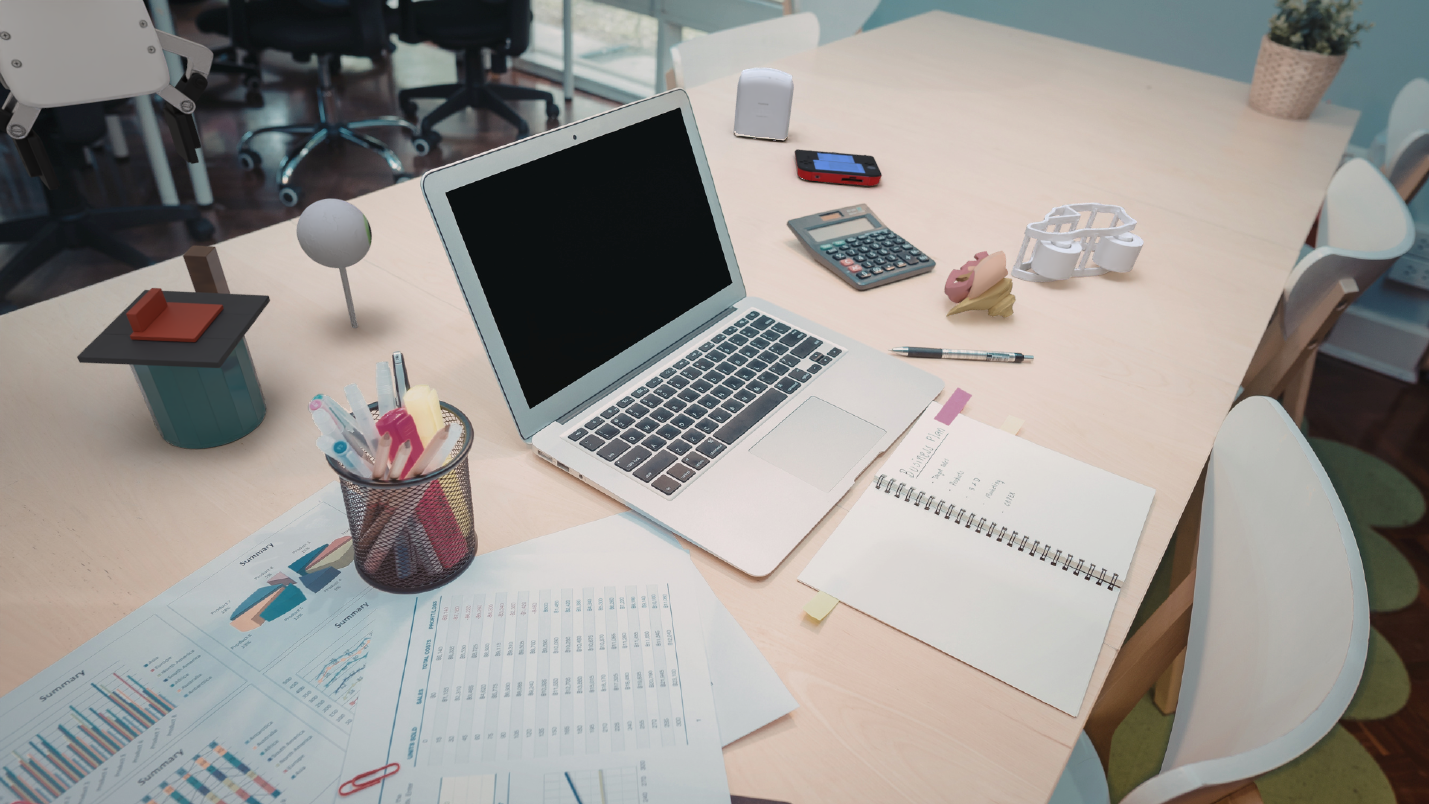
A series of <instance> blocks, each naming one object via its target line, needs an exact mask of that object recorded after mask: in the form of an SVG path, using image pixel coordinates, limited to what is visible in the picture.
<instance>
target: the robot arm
mask: <svg viewBox="0 0 1429 804" xmlns="http://www.w3.org/2000/svg"><path fill="white" fill-rule="evenodd" d="M164 51H165V52H169V53H172V54H175V55H177V56H180V57H184V58H186V60H187V65H186V66H187V68H186V70H185V71H184V72H183V74H182V75H181V77H180V78H179V80H178V81H177V83H176V84H175V86H174V85H172V84H171V83H170V82H171V75H170V70H169V66H168V63H167V60H166V56H165V53H164ZM213 60H214V53H213V51H212V50H211V49H209V48H208V47H206V46H205V45H203V44H201V43H198V42H196V41H192V40H189V39H187V38H184V37H180V36H178V35H175V34H173V33H169V32H166V31H164V30H161V29H158V28H155V27H154V24H153V22H152V19H151V17H150V14H149V12H148V10H147V7H146V4H145V2H144V0H0V84H2V86H3V88H5V90H10V92H9V93H8V95H7V98H6V99H5V101H4V103H3V104H2V107H0V131H1V132H3V133H5V134H7V135H8V136H10V137H11V139H12V142H13V144H14V146H15V149H16V151H17V153H18V156H19V158H20V160H21V162H22V165H23V167H24V169H25V171H26V173H27V174H28V176H29V177H30V178H37V177H39V178H40V180H41V181H42V182H43V184H44V185H45V186H46V187H47V189H48V190H49V191H54V190H58V189H59V187H60V188H61V184H60V181H59V179H58V177H57V173H56V172H55V169H54V167H53V164H52V162H51V160H50V157H49V154H48V152H47V150H46V148H45V145H44V143H43V140H42V139H41V137H40V136H39V135H38V133H36V131H35V130H34V128H33V126H34V124H35V122H36V120H37V119H38V116H39V114H40V113H41V110H42V109H45V108H46V109H49V108H59V107H66V106H75V105H81V104H90V103H99V102H105V101H112V100H120V99H126V98H127V99H128V98H134V97H141V96H147V95H151V94H156V95H157V96H159V97H161V98H162V99H163V100H165V104H163V106H164V107H163V108H162V111H163V114H164V117H165V120H166V123H167V127H168V130H169V133H170V136H171V140H172V142H173V146H174V148H175V151H176V153H177V154H178V155H179V156H180V157H181V158H182V159H183V160H185V161H186V162H187V163H188V164H191V165H193V164H199V163H200V160H199V157H198V154H197V149H201V148H202V144H201V140H200V138H199V133H198V130H197V127H196V124H195V120H194V117H193V113H194V112H195V111H196V107H197V105H196V104H197V102H198V101H199V99H200V98H201V96H202V95H203V93H204V91H205V90H206V89H207V87H208V85H209V83H208V77H209V75H210V72H211V68H212V65H213Z"/></svg>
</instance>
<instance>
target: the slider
mask: <svg viewBox="0 0 1429 804" xmlns="http://www.w3.org/2000/svg"><path fill="white" fill-rule="evenodd" d="M148 290H149V291H148V292H147V293H146V294H145V295H144V296H143V297H142V298H141V299H140V300H139V301H138V302H137V303H136V304H135V305H134V306H133V307H132V308H131V309H130V310H129V311H128V312H127V313H126V315H127V318H128V320H129V322H130V325H131V327H132V330H133V333H132V334H131V335H130V338H131V340H154V341H179V342H196V341H197V340H198V339H199V337H200V336H201V335H202V334H203V333H204V331H205V330H206V329H207V328H208V327H209V325H210V324H211V323H212V322H213V321H214V319H215V318H216V317H217V316H218V315H219V313H220V312H221V311H222V310H223V309H224V308H223V305H217V304H194V303H172V302H166V300H165V297H164V294H163V292H162V291H163V289H162V288H161V287H151V289H148Z"/></svg>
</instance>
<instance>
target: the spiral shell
mask: <svg viewBox="0 0 1429 804" xmlns="http://www.w3.org/2000/svg"><path fill="white" fill-rule="evenodd" d="M973 259H975V260H967V261H966V263H964V264H963V265H962V266H961V267H960V268H959V269H955V268H954V269H952V271H951V272H950V273H949V275H948V276H947V279H946V281H945V285H944V289H943V290H944V291H943V292H944V295H946V296H947V298H948V300H949V301H950V302H952V303H954V304H956V305H955V306H954V307H952V308H951V309H949V311H948V312H947V314H946V317H950V316H954V315H958V314H962V313H966V312H969V311H983V312H984V311H985V312H986V311H987V315H988V316H990V317H991V318H994V317H1003V318H1004V319H1007V318H1009V317H1011V316H1012V315H1014V309H1013V306H1014V304H1015V302H1016V301H1017V299H1016V295H1015V294H1012V291H1013V285H1014V282H1013V278H1009V277H1007V276H1008V275H1009V271H1008V269H1007V268H1006V267H1007V257H1006V253H1005V251H1004V250H998V251H995V252H993V253H991V254H989V253H988V251H987V250H984V251H980V252H977V253H975V254H974V256H973Z"/></svg>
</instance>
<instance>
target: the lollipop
mask: <svg viewBox="0 0 1429 804" xmlns="http://www.w3.org/2000/svg"><path fill="white" fill-rule="evenodd" d="M295 231H296V238H297V241H298V243H299V245H300V248H301V250H303V252H304V253H305V255H306V256H307V257H308V258H310V259H311V260H312V261H313V262H314V263H317V264H319V265H321V266H323V267H326V268H332V269H339V270H338V271H339V275H340V280H341V284H342V290H343V293H344V298H345V303H346V307H347V311H348V316H349V317H348V318H349V321H350V327H351V329H357V328H358V327H359V326H358V320H357V316H356V311H355V306H354V302H353V296H352V292H351V288H350V282H349V277H348V273H347V268H349V267H352V266H355V265H356V264H358V263H359V262H360V261H362V260H363V259H364V258H365V257H366V256H367V254H368V252H369V251H370V249H371V246H372V240H373V233H372V227H371V224H370V222H369V220H368V218H367V217H366V215H365V214H364V212H363V211H362V210H360V209H359V208H358V207H357V206H355V204H353V203H350V202H349V201H346V200H343V199H340V198H339V199H338V198H325V199H320V200H316V201H314V202H313V203H311V204H310V205H308V206H306V207H305V209H304V210H303V211H302V212H301V214H300V216H299V218H298V220H297V224H296V229H295Z"/></svg>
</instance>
